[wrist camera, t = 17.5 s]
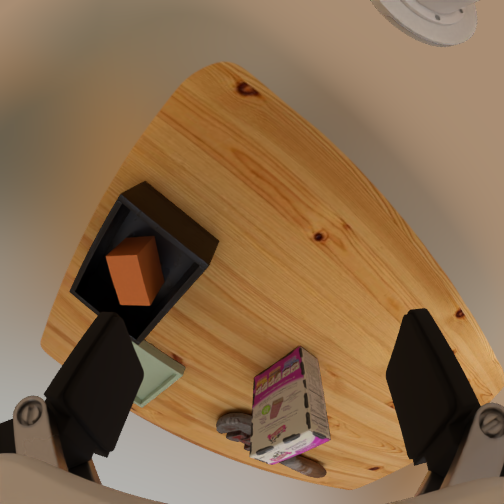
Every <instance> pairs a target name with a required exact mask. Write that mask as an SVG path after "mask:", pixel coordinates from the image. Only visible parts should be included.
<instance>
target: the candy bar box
mask: <svg viewBox="0 0 504 504" xmlns="http://www.w3.org/2000/svg"><path fill="white" fill-rule="evenodd" d="M330 440H331V438H330V431H329V424H328V418H327V412H326V405H325V400H324V392H323V387H322V381H321V375H320V369H319V363H318V359H317V358H316V357H314V356H313V355H311V354H310V353H309V352H307V351H306V350H305V349H303V348H302V347H301V346H299V347H298V348H296V349H295V350H293V351H292V352H291V353H289V354H288V355H287V356H285V357H284V358H282V359H281V360H280V361H278V362H277V363H275V364H274V365H272V366H271V367H270V368H268V369H267V370H265V371H264V372H262V373H261V374H259V375H258V376H256V377H255V378H254V387H253V406H252V423H251V440H250V455H249V457H251V458H254V459H257V460H259V461H262V462H266V463H267V464H271V465H273V464H276V463H278V462H281V461H284V460H286V459H289V458H291V457H294V456H296V455H299V454H301V453H303V452H306V451H308V450H310V449H312V448H315V447H317V446H319V445H321V444H323V443H325V442H328V441H330Z"/></svg>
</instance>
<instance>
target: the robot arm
mask: <svg viewBox="0 0 504 504" xmlns="http://www.w3.org/2000/svg"><path fill="white" fill-rule="evenodd" d="M400 1H401V2H402V3H403V4H404V5H405V6H406V7H407V8H408V9H410V10H411V11H412V12H414V13H415V14H416V15H418V16H420V17H421V18H423V19H425V20H427V21H429V22H431V23H434V24H437V25H444V26H445V25H452V24H455V23H457V22H459V21H460V20H461V19H462V18H463V17H464V15H465V10H466V6H468V5H470V4H472V3H475V2H477V1H479V0H400ZM143 378H144V370H143V368H142V365H141V363H140V361H139V358H138V356H137V353H136V351H135V349H134V346H133V344H132V341H131V339H130V336H129V334H128V331H127V328H126V326H125V323H124V320H123V319H122V318H121V317H119V315H118V314H117V313H113V312H101V313H100V314H99V315H98V316H97V318H96V319H95V320H94V322H93V323H92V324H91V326H90V327H89V329H88V330H87V331H86V333H85V334H84V335H83V337H82V338H81V340H80V341H79V342H78V344H77V345H76V347H75V348H74V349H73V351H72V352H71V354H70V355H69V357H68V358H67V360H66V361H65V362H64V364H63V365H62V367H61V368H60V370H59V371H58V373H57V374H56V376H55V378H54V379H53V380H52V382H51V384H50V385H49V387H48V388H47V390H46V391H45V393H44V395H45V396H46V400H45V402H44V400H43V399H42V398H40V397H38V396H28V397H26V398H24V399H22V400H21V401H20V402H19V403H18V405H17V406H16V407H15V410H14V412H13V419H11V420H8V421H6V422H3V423H0V504H166V503H162V502H157V501H153V500H149V499H145V498H141V497H138V496H134V495H131V494H127V493H124V492H121V491H118V490H115V489H112V488H109V487H106V486H103V485H102V484H101V481H100V479H99V476H98V474H97V471H96V469H95V466H94V463H93V461H92V455H93V453H95V454H98V455H101V456H104V457H108V455H109V452H110V451H113V450H114V448H115V446H116V443H117V441H118V438H119V436H120V433H121V431H122V428H123V426H124V423H125V421H126V419H127V416H128V414H129V411H130V409H131V407H132V404H133V402H134V400H135V397H136V395H137V393H138V390H139V388H140V386H141V383H142V381H143ZM386 380H387V383H388V386H389V390H390V393H391V396H392V400H393V403H394V406H395V410H396V413H397V417H398V420H399V424H400V428H401V431H402V435H403V439H404V443H405V447H406V451H407V455H408V457H409V459H413V462H414V466H415V465H419V464H422V463H426V462H427V466H428V470H429V471H428V473H427V475H426V476H425V478H424V480H423V482H422V484H421V485H420V487H419V489H418V491H417V493H416V494H415V496H414V497H412V498H408V499H404V500H401V501H396V502H391V503H387V504H504V407H503V406H501V405H499V404H496V403H487V404H485V405H483V406H480V404H479V402H478V399H477V397H476V395H475V393H474V391H473V389H472V387H471V385H470V383H469V381H468V379H467V377H466V375H465V373H464V372H463V370H462V368H461V366H460V364H459V362H458V360H457V359H456V357H455V355H454V353H453V351H452V350H451V348H450V346H449V344H448V343H447V341H446V339H445V338H444V336H443V334H442V332H441V331H440V329H439V327H438V326H437V324H436V323H435V321H434V319H433V318H432V316H431V314H430V313H429V311H428V310H427V309H425V308H422V309H413V310H409V312H408V314H407V315H404V316H403V319H402V323H401V326H400V330H399V333H398V336H397V340H396V343H395V346H394V349H393V352H392V355H391V358H390V361H389V364H388V367H387V370H386Z"/></svg>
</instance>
